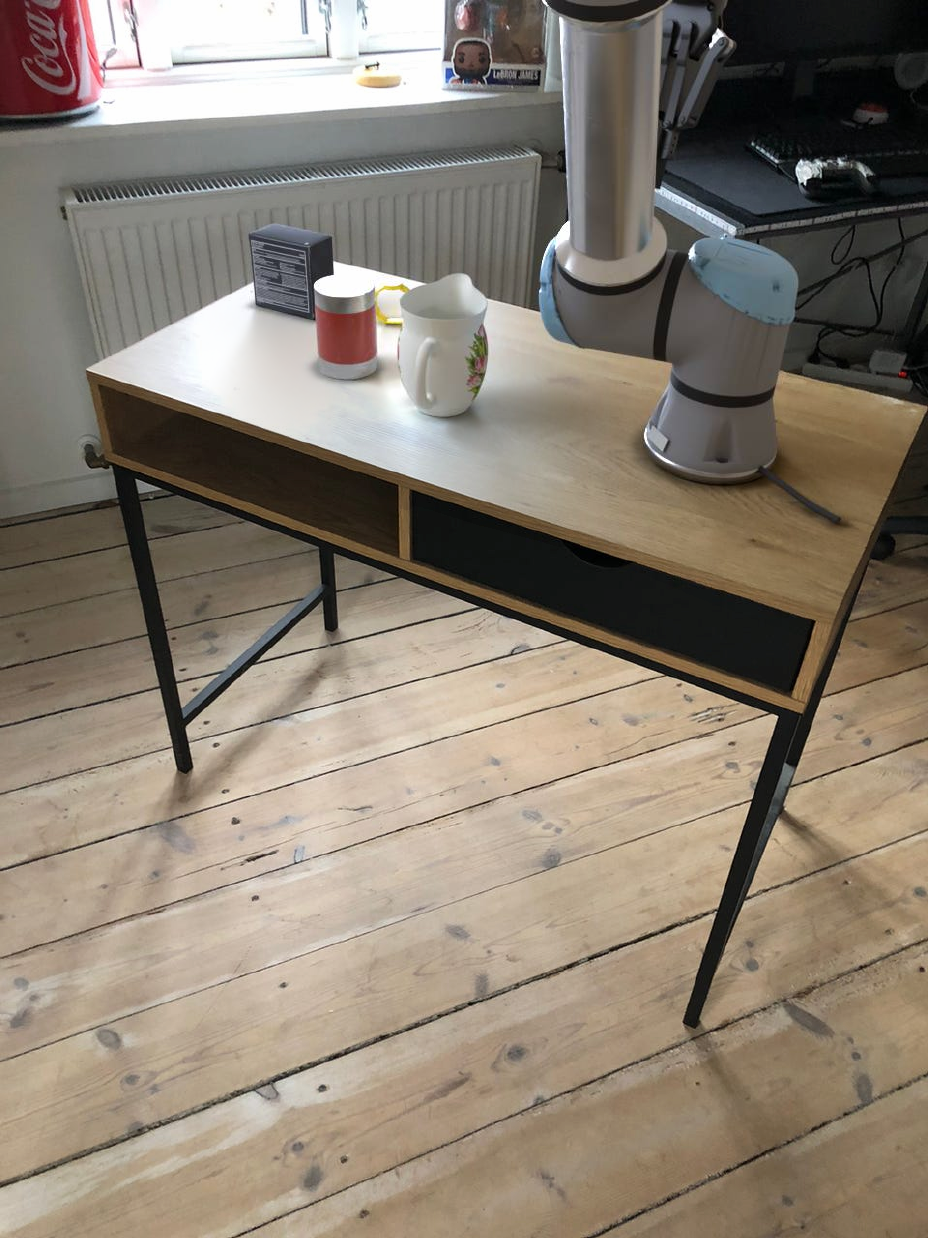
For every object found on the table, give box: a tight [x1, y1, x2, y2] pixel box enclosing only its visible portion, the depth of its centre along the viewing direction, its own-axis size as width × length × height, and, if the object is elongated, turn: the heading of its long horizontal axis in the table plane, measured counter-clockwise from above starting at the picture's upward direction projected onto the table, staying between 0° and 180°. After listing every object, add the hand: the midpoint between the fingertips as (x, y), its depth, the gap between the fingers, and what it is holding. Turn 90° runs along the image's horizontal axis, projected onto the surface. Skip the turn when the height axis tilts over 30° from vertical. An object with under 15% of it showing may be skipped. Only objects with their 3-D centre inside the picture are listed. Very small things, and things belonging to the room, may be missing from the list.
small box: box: [247, 223, 335, 320], centre depth 148 cm, size 11×6×10 cm, turn 62°
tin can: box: [314, 274, 378, 381], centre depth 132 cm, size 8×8×11 cm
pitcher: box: [396, 272, 489, 418], centre depth 123 cm, size 11×18×14 cm, turn 165°
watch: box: [375, 278, 411, 325], centre depth 145 cm, size 6×3×6 cm, turn 81°
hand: (649, 186), depth 126 cm, fingers closed
